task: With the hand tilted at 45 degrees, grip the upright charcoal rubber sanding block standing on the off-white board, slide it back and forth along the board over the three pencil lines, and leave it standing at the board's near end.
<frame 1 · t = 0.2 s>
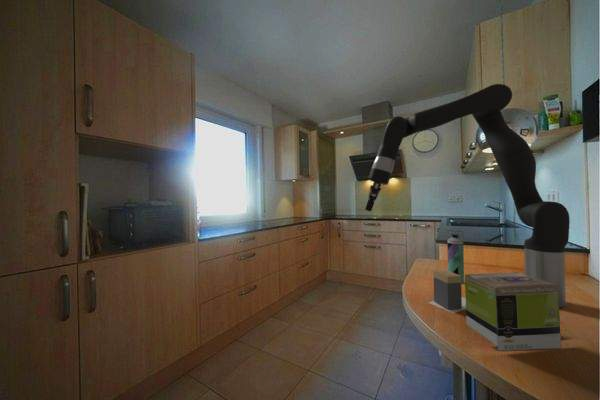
hand: (367, 210, 90), 30 cm above the table, tool tilted 20°, fingers open, 8 cm apart
sanding block: (447, 305, 73), point 1 cm above the table, touching board
tea box: (509, 339, 57), on the table
spray can: (455, 283, 95), on the table
board: (453, 306, 74), on the table
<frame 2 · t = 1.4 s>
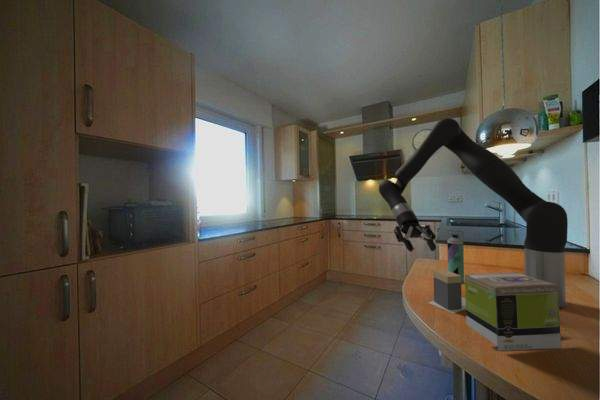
hand: (423, 250, 84), 16 cm above the table, tool tilted 45°, fingers open, 8 cm apart
nothing on the table moved.
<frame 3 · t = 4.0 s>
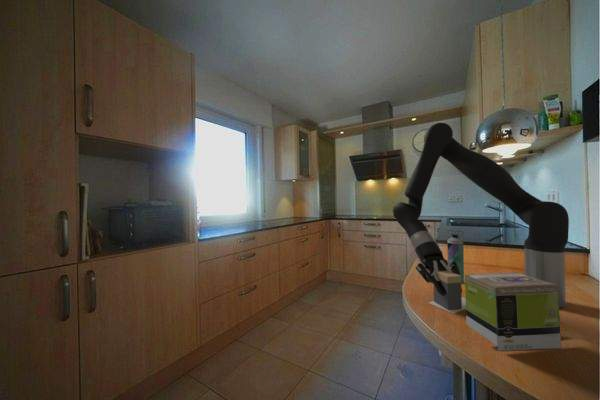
hand: (451, 293, 71), 6 cm above the table, tool tilted 45°, fingers closed on sanding block, 4 cm apart
sanding block: (447, 305, 73), point 1 cm above the table, touching board, gripper
everything else where it was.
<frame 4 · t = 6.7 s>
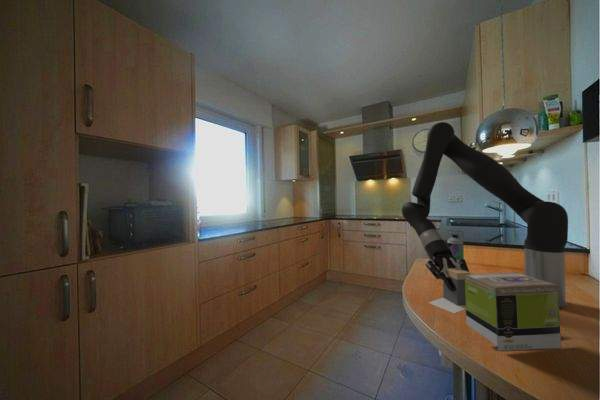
hand: (461, 289, 73), 6 cm above the table, tool tilted 45°, fingers closed on sanding block, 4 cm apart
sanding block: (456, 300, 75), point 1 cm above the table, touching gripper
everything else where it was.
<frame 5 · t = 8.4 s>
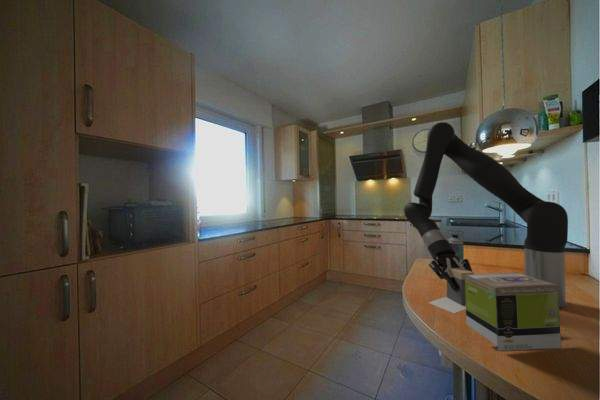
hand: (465, 289, 74), 6 cm above the table, tool tilted 45°, fingers closed on sanding block, 4 cm apart
sanding block: (460, 300, 76), point 1 cm above the table, touching gripper
everything else where it was.
when the fingers open (6 cm above the table, at t = 9.6 s): sanding block stays where it is, resting on board.
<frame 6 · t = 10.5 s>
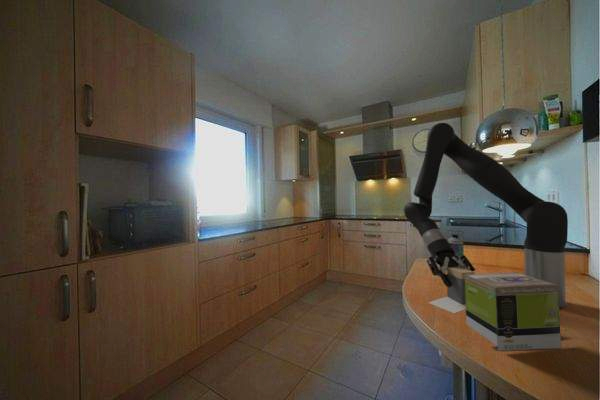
hand: (462, 285, 75), 6 cm above the table, tool tilted 45°, fingers open, 8 cm apart
sanding block: (460, 300, 76), point 1 cm above the table, touching board
everything else where it was.
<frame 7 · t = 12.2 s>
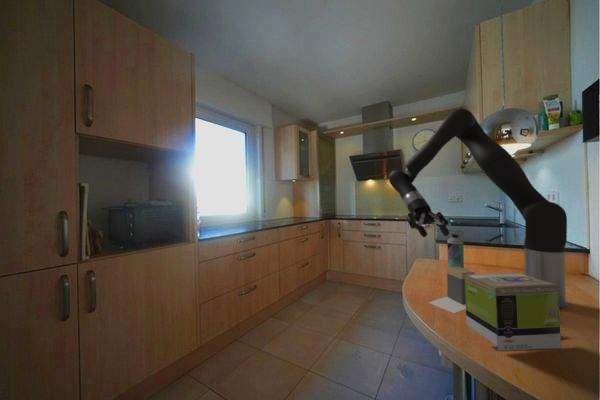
hand: (436, 235, 85), 21 cm above the table, tool tilted 45°, fingers open, 8 cm apart
nothing on the table moved.
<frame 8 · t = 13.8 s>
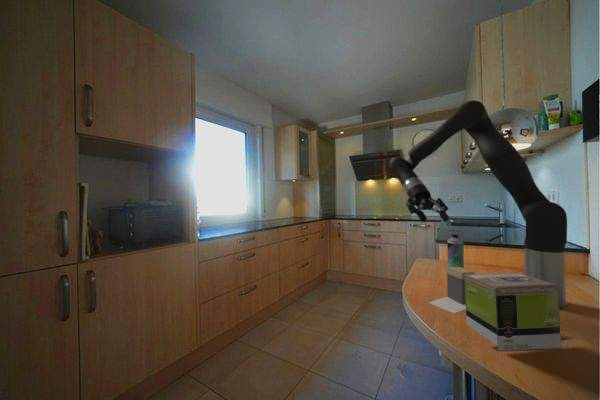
hand: (436, 220, 84), 27 cm above the table, tool tilted 45°, fingers open, 8 cm apart
nothing on the table moved.
at the end: sanding block inside the target area (0.3 cm from its centre), point 1.2 cm above the table; sanding block tilted 0°; sanding block moved 7.5 cm from its start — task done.
